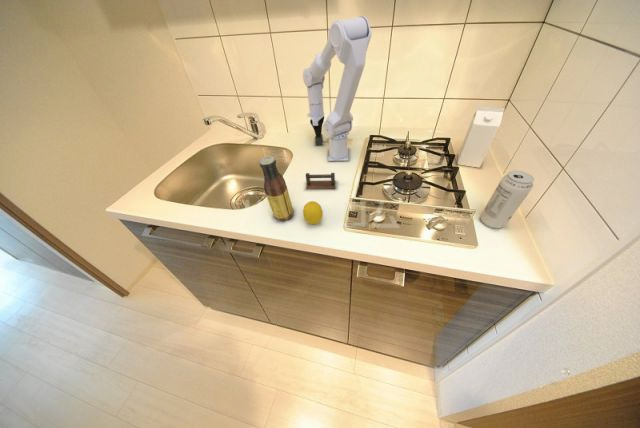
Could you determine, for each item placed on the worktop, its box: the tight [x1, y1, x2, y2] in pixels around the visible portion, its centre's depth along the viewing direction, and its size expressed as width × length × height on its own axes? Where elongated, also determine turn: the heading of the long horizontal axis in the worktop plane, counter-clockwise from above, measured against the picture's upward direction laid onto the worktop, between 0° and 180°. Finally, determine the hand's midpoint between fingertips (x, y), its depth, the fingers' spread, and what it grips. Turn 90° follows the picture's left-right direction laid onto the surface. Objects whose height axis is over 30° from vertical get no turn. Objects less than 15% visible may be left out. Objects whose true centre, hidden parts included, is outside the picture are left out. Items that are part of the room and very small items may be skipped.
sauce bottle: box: [258, 155, 294, 222], centre depth 64 cm, size 6×6×20 cm
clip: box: [314, 133, 324, 146], centre depth 100 cm, size 4×3×7 cm
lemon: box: [302, 200, 324, 225], centre depth 64 cm, size 6×6×8 cm
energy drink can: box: [480, 170, 535, 230], centre depth 57 cm, size 6×6×15 cm
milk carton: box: [457, 106, 506, 168], centre depth 77 cm, size 7×7×19 cm
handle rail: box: [305, 172, 336, 190], centre depth 78 cm, size 4×10×5 cm, turn 85°
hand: (318, 135), depth 100 cm, fingers closed on clip
